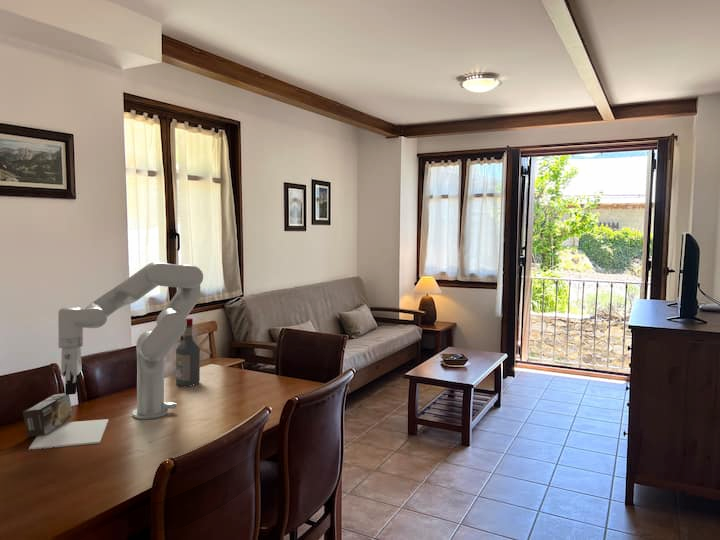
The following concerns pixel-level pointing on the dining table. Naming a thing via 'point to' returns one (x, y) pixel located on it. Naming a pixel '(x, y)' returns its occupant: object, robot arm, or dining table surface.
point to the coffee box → (47, 415)
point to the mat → (72, 434)
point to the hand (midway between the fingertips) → (70, 393)
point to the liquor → (188, 359)
